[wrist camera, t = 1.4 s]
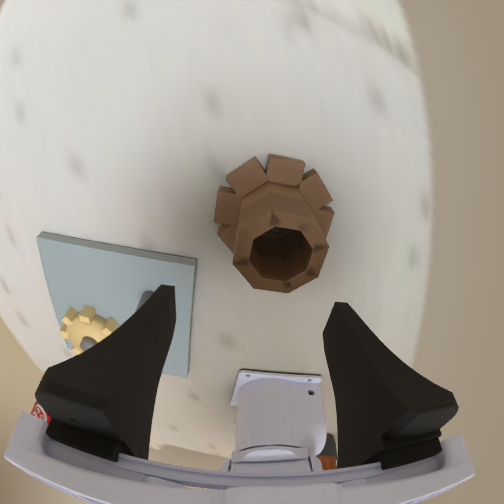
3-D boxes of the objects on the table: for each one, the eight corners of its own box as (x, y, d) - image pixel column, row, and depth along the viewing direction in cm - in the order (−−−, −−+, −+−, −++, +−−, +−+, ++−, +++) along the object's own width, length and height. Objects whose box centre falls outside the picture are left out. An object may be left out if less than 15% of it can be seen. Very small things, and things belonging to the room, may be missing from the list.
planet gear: (341, 170, 19) (374, 201, 14) (311, 266, 23) (326, 318, 18) (226, 146, 18) (215, 168, 13) (210, 250, 22) (198, 301, 17)
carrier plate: (196, 259, 23) (187, 290, 19) (188, 370, 30) (183, 399, 27) (42, 231, 21) (17, 254, 18) (70, 342, 29) (58, 366, 25)
